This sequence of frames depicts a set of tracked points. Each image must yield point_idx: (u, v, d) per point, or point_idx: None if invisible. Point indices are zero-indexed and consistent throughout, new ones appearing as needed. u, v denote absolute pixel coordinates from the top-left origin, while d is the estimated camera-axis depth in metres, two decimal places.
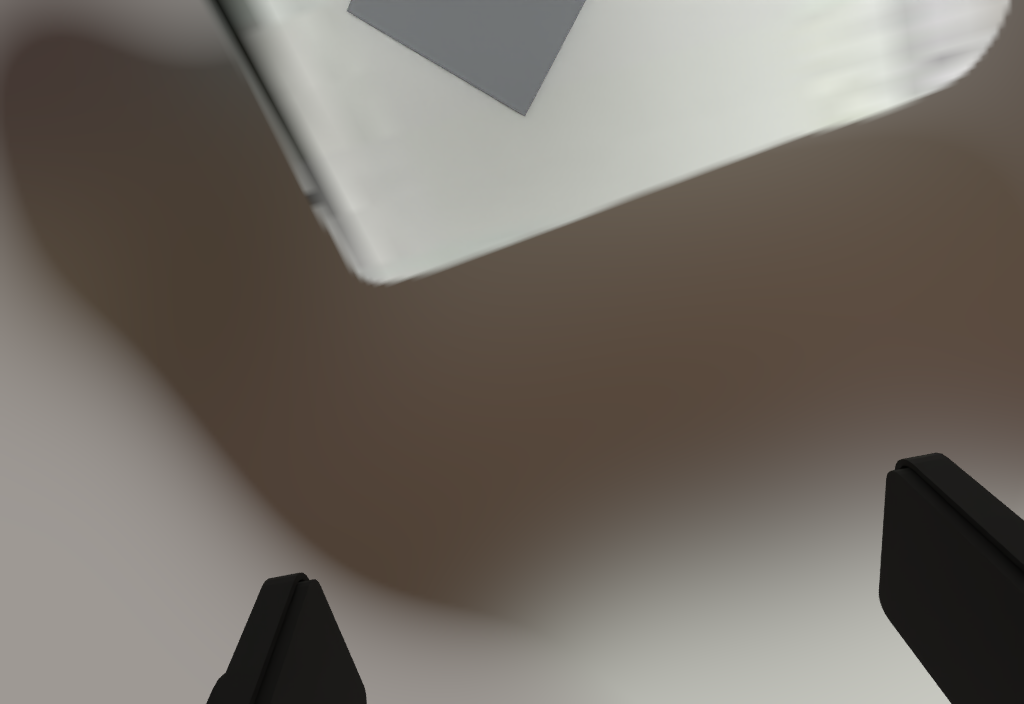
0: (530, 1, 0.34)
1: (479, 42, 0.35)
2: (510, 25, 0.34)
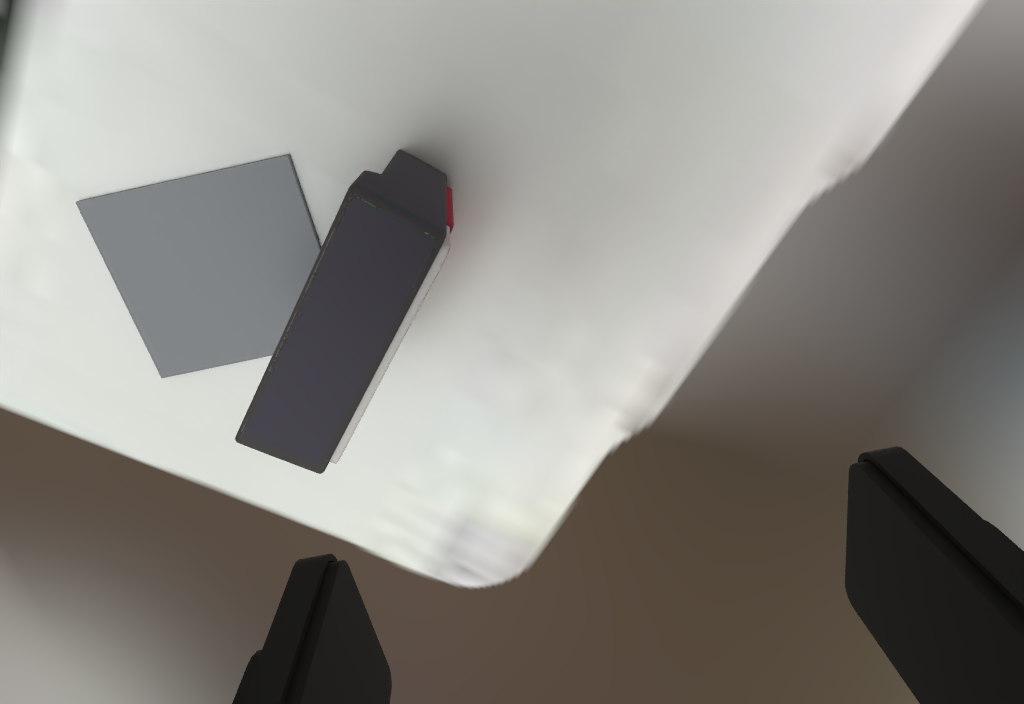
0: (226, 323, 0.37)
1: (166, 310, 0.37)
2: (199, 322, 0.37)
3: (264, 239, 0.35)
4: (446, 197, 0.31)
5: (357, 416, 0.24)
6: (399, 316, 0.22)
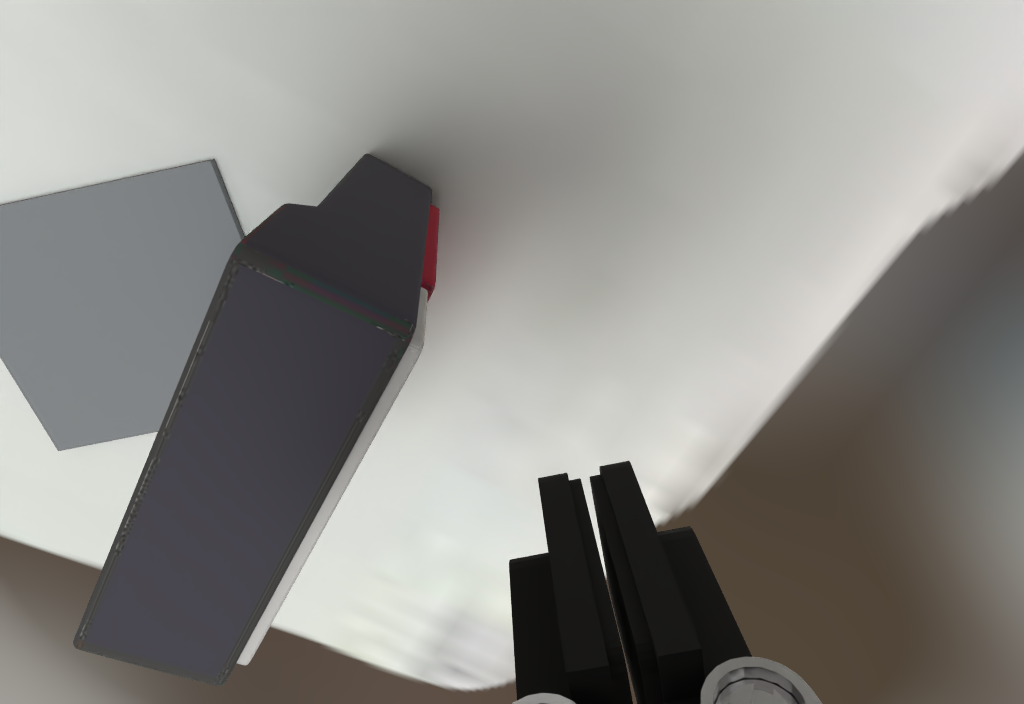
0: (139, 382, 0.28)
1: (57, 366, 0.28)
2: (102, 381, 0.28)
3: (184, 274, 0.26)
4: (429, 226, 0.21)
5: (275, 602, 0.15)
6: (335, 462, 0.13)
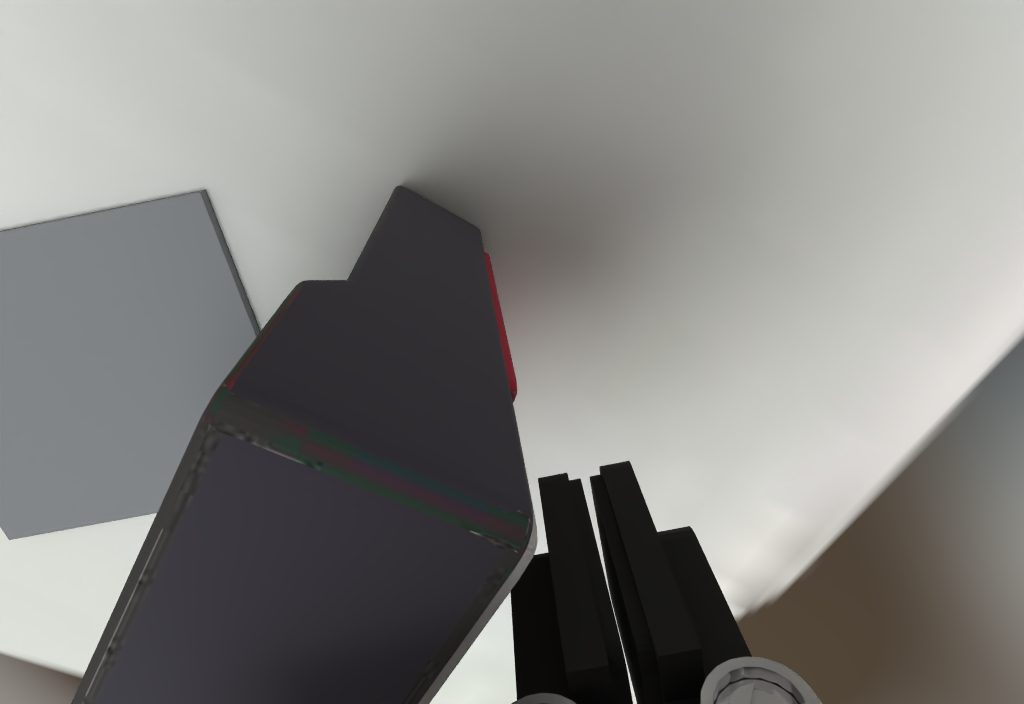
0: (109, 460, 0.23)
1: (7, 441, 0.22)
2: (63, 458, 0.23)
3: (165, 331, 0.21)
4: None
5: None
6: None
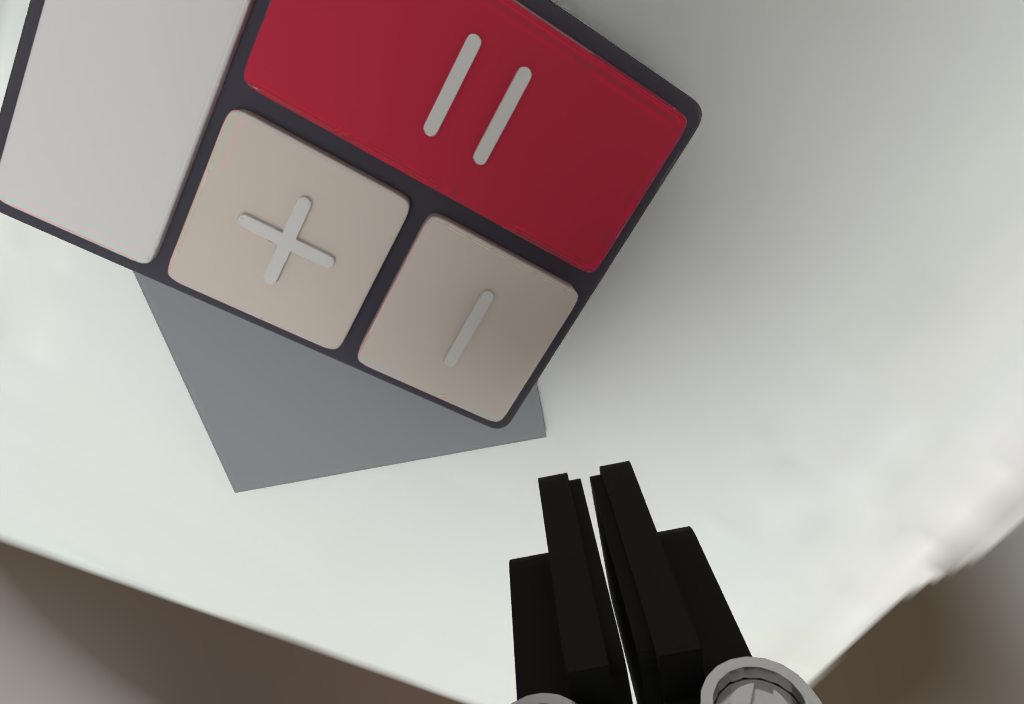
0: (348, 410, 0.22)
1: (251, 390, 0.22)
2: (303, 408, 0.22)
3: None
4: None
5: (19, 99, 0.14)
6: None
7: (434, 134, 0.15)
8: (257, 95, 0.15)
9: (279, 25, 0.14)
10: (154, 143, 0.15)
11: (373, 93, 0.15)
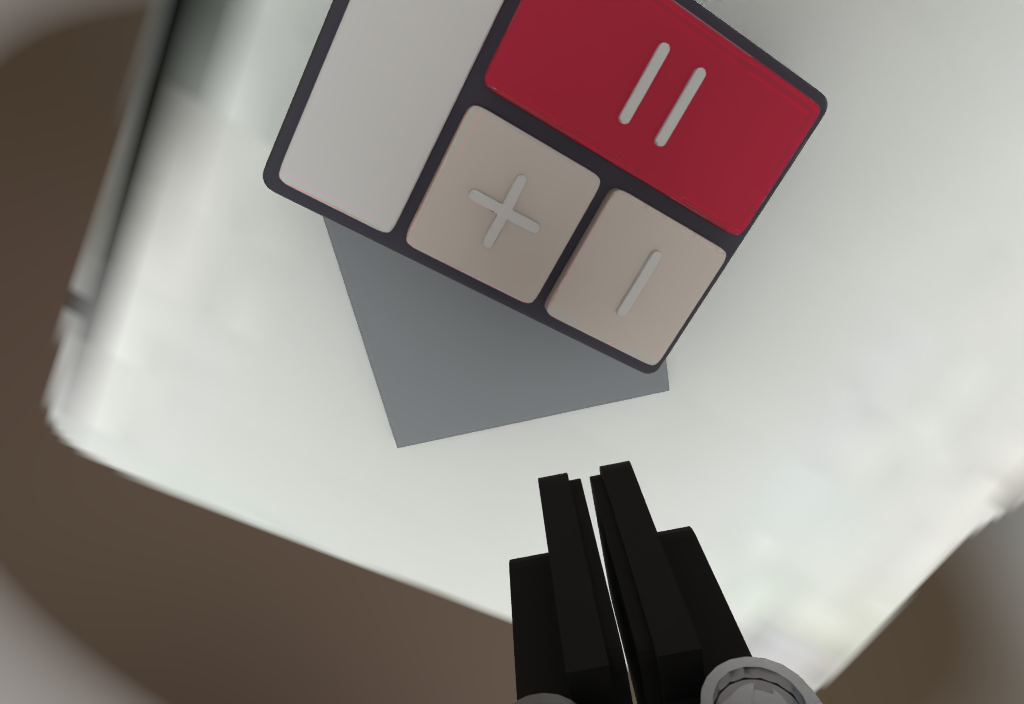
0: (502, 369, 0.26)
1: (421, 353, 0.25)
2: (464, 369, 0.26)
3: None
4: None
5: (308, 99, 0.18)
6: None
7: (627, 122, 0.19)
8: (487, 94, 0.19)
9: (517, 38, 0.18)
10: (407, 133, 0.19)
11: (582, 91, 0.19)
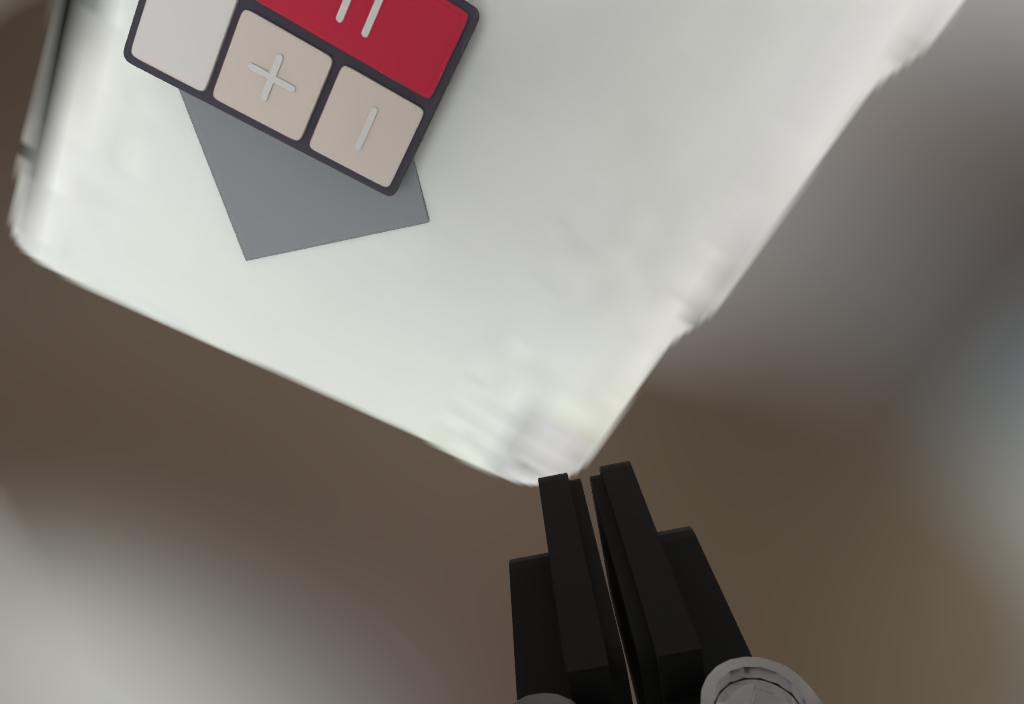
0: (311, 204, 0.39)
1: (254, 190, 0.38)
2: (285, 203, 0.39)
3: None
4: None
5: (145, 5, 0.31)
6: None
7: (341, 21, 0.31)
8: (256, 3, 0.31)
9: None
10: (207, 27, 0.31)
11: (311, 1, 0.31)
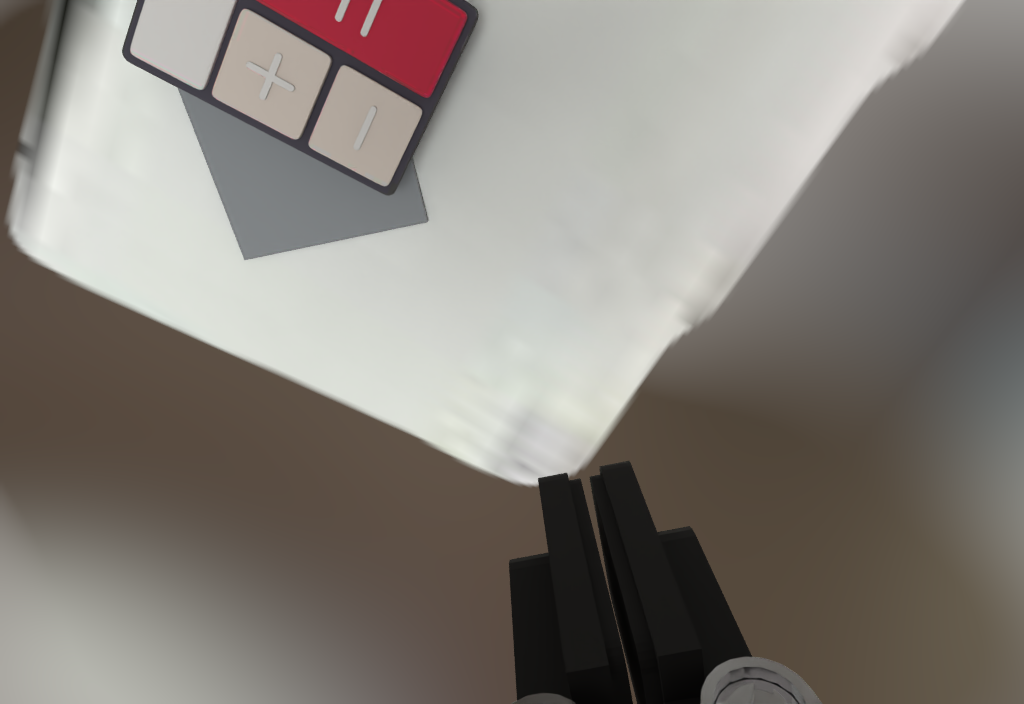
0: (310, 203, 0.39)
1: (253, 189, 0.38)
2: (284, 202, 0.39)
3: None
4: None
5: (144, 4, 0.31)
6: None
7: (340, 20, 0.31)
8: (255, 2, 0.31)
9: None
10: (206, 26, 0.31)
11: (310, 0, 0.31)
